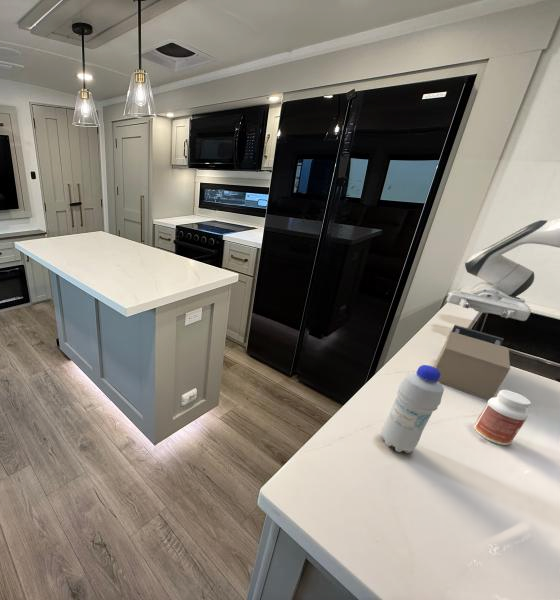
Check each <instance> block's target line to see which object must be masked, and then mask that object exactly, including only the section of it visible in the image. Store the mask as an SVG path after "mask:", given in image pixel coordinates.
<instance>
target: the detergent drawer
mask: <svg viewBox="0 0 560 600" xmlns="http://www.w3.org/2000/svg"><path fill="white" fill-rule="evenodd" d="M451 332H455V333H458V334H461V335H465V336H468V337H472V338H475V339H479V340H482V341H485V342H489V343H492V344H496V345H499V346H502V344H503V342H504V339H505V338H504V337H499V336H497V335H492V334H489V333H486V332H481V331H478V330H476V329H471V328H467V327H464V326H461V325H458V324H454V325H453V326H452V329H451Z"/></svg>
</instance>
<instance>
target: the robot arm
mask: <svg viewBox="0 0 560 600" xmlns="http://www.w3.org/2000/svg"><path fill="white" fill-rule="evenodd" d="M528 244H529V245H532V244H535V245H543V246H549V247H554V248H559V249H560V217H556V218H553V219H549V220H546V219H544V220H543V219H541V220H537V221H535V222H531V223H530V224H528V225H526V226H525V227H522V228H520V229H519V230H516V231H514V232H512V233H511V234H509V235H508V236H506V237H504V238H503V239H500V240H499V241H496V242H495V243H493V244H491V245H490V246H488V247H486V248H484V249H482V250H479V251H477V252H475V253H473V254H472V255H471V256H469V257H468V258H467V260H466V261H465V262H464V267H465V270H466V273H467V274H468V273H469V274H470V275H472V276H474V277H477V278H479V279H480V280H482V281H481V282H479V283H477V284H476V285H473V287H472V288H471V290H470V292H468V291H462V290H457V289H456V290H454V289H453V290H452V291H449V292H448V293H447V298H446V299H445V302H447V303H448V304H452V305H455V306H456V305H457V306H459V307H460V306H461V307H462V308H463V309H467V310H468V309H473V310H474V311H476V312H478V313H482V314H493V315H496V316H497V315H498V316H500V318H504V319H508V318H509V319H513V320H518V321H521V322H525V321H527V320H528V319H529V317H530V315H531V312H532V310H531V307H530V306H529V305H528V304H527V303H525V302H526V300H525V299H524V298H520V297H518V296H520V295H521V294H523V293H524V292H526V290H528V289H530V287H531V286H532V285H533V283H534V281H535V272H534V271H533V270H532V269H530V268H528V267H526V266H524V265H522V264H520V263H517V262H515V261H514V260H512V259H510V258H508V257H506V256H504V254H506V253H508V252H510V251H512V250H513V249H516V248H517V247H519V246H522V245H528Z"/></svg>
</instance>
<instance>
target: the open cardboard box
mask: <svg viewBox="0 0 560 600" xmlns="http://www.w3.org/2000/svg"><path fill="white" fill-rule="evenodd" d="M451 331H452V330H451ZM451 331H449V333H448V335H447V338H446V340H445V342H444V344H443V346H442V347H441V350H440V352H439V354H438V356H437V358H436V360H435V363H434V366H433V367H434V368H436V369H437V370H439V372H440V378H439V380H438V382H439V383H440V384H443V385H445V386H448V387H451V388H453V389H456V390H459V391H461V392H464V393H467V394H469V395H471V396H474V397H476V398H480V399H482V400H485V401H487V402H488V400H489V399H491V398H493V397H495V395H496V394H497V392H498V390H499V388H500V387H501V385H502V384H503V381H504V380H505V378H506V377H507V375H508V374H509V372H510V370H511V363H510V362H511V361H510V349H509V347H505V346H503V345H500V346H499V345H496V344H492V343H489V342H485V341H482V340H479V339H475V338H472V337H468V336H465V335H461V334H458V333H455V332H451Z"/></svg>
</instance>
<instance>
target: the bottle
mask: <svg viewBox="0 0 560 600" xmlns="http://www.w3.org/2000/svg"><path fill="white" fill-rule="evenodd" d="M439 378H440V372H439V370H437V369H436V368H434V366H432V365H428V364H422V365H420V366H419V367H418V368H417V370H416V372H410V373H407V374H406V376H405V377H404V378H403V380H402V381H401V382H400V384H399V385H398V389H397V391H396V393H397V394H396V395H397V396H396V398H395V400H394V403H393V405H392V407H391V409H390V412H389V414H388V416H387V418H386V419H385V421H384V422H383V424H382V426H381V430H380V438H381V440H383V441H384V444H385V445H386V446H387V447H388V448H389V447H391V446H393V447H394V450H395V452H398V453H401V452H404V453H406V454H408V453H411V452H413V451H414V450H415V448H416V447H418V444H419V442H420V439H421V436H422V434H423V432H424V430H425V427H426V425H427V424H428V422H429V420H430V418H431V417H432V414H433V413H434V412H435V411H437V410H438V408H439V406H440V405H441V402H442V398H443V396H444V391H445V389H444V386H443V385H442V383H440V382H438V380H439Z"/></svg>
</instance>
